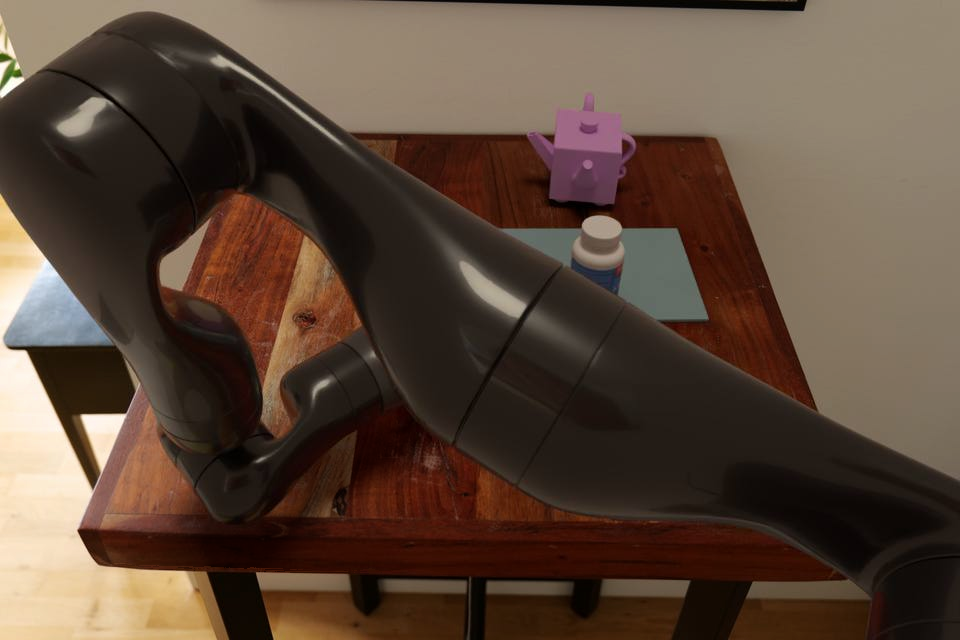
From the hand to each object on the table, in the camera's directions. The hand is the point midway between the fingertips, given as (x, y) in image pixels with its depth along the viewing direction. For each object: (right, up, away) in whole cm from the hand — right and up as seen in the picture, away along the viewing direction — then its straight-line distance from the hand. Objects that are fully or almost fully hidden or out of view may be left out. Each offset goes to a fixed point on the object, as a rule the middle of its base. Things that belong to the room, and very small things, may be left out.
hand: (536, 275), depth 81 cm
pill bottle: (+7, -2, +11) cm, 13 cm away
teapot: (+7, +12, +27) cm, 31 cm away
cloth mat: (+7, +1, +15) cm, 16 cm away
